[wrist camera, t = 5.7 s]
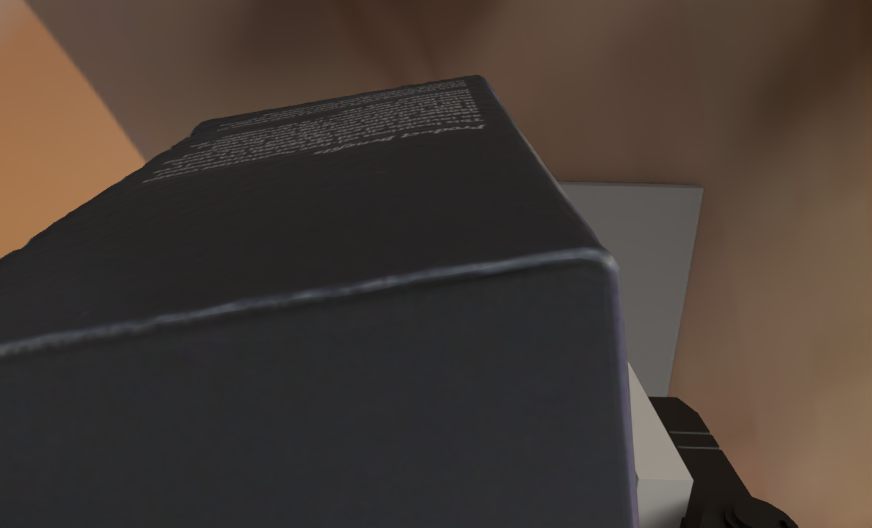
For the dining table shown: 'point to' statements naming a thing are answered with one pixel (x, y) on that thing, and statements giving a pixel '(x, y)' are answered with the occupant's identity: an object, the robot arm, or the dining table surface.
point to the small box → (321, 333)
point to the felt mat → (646, 263)
